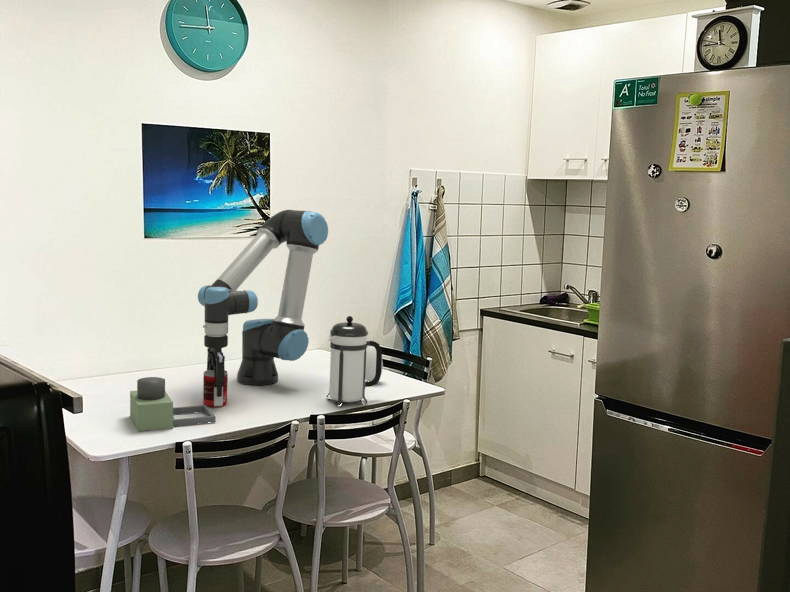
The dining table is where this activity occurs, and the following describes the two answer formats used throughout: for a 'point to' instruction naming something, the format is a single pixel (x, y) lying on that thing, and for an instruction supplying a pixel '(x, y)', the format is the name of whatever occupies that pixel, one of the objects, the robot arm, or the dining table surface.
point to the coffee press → (350, 362)
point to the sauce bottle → (371, 363)
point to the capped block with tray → (160, 407)
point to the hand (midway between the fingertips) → (215, 402)
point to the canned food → (212, 388)
